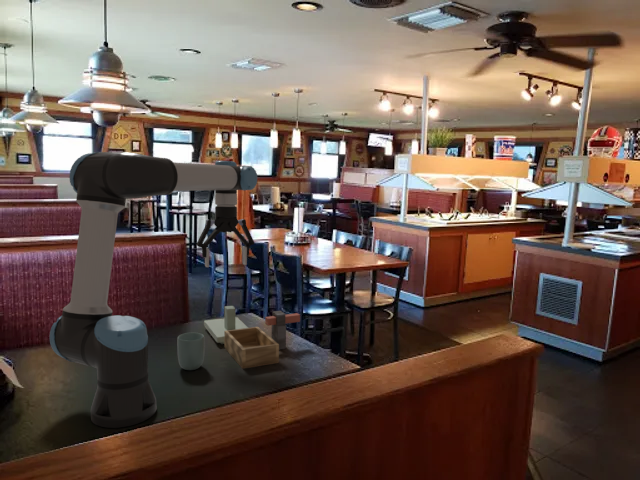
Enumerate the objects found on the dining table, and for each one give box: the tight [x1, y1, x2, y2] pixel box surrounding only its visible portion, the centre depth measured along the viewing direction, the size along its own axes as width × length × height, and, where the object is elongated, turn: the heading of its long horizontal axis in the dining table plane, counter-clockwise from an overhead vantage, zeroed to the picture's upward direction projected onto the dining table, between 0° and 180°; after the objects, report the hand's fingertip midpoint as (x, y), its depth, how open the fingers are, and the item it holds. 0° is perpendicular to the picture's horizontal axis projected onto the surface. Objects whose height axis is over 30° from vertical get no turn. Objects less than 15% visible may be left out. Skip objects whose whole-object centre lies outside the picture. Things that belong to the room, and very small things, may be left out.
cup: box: [176, 332, 205, 371], centre depth 149 cm, size 8×8×10 cm
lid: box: [203, 305, 249, 345], centre depth 180 cm, size 21×13×12 cm, turn 25°
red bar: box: [264, 312, 301, 326], centre depth 169 cm, size 2×12×2 cm, turn 117°
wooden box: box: [224, 310, 287, 370], centre depth 162 cm, size 20×19×12 cm
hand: (226, 265), depth 173 cm, fingers open, 13 cm apart
